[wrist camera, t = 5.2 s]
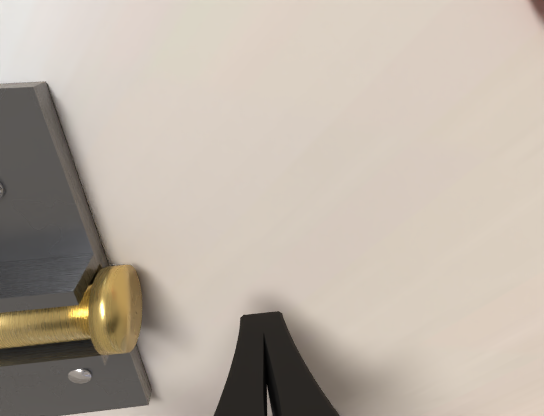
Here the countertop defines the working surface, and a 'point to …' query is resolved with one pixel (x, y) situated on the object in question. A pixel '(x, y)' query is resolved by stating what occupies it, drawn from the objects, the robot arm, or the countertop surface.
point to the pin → (84, 316)
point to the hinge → (51, 267)
